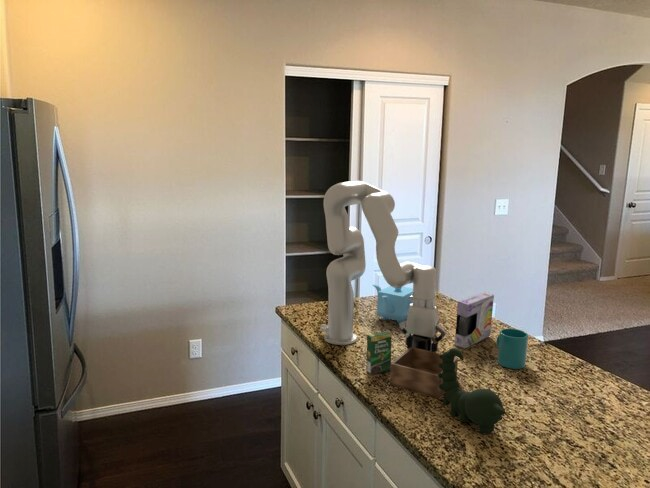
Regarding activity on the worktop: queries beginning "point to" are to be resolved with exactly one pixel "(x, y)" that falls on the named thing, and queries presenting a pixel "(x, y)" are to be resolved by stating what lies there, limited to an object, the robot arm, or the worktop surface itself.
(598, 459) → the worktop surface
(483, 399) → the toy figurine
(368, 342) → the coffee box
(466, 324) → the cake pan box
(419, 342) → the supplement bottle
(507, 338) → the cup
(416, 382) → the walnut crate
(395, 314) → the teakettle
